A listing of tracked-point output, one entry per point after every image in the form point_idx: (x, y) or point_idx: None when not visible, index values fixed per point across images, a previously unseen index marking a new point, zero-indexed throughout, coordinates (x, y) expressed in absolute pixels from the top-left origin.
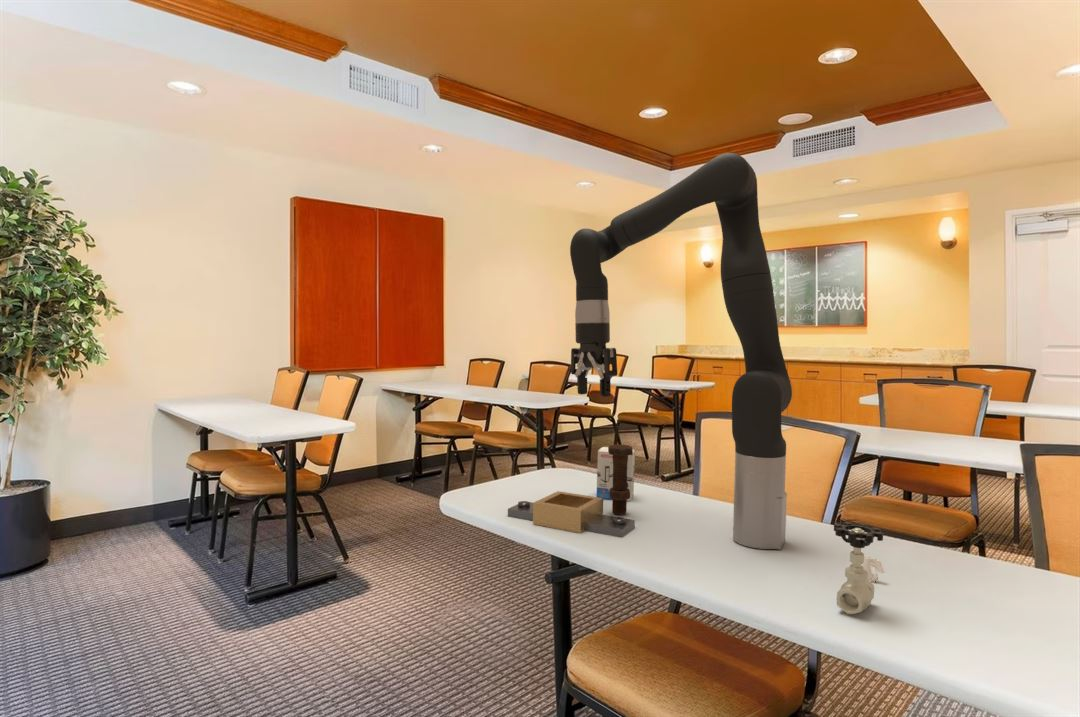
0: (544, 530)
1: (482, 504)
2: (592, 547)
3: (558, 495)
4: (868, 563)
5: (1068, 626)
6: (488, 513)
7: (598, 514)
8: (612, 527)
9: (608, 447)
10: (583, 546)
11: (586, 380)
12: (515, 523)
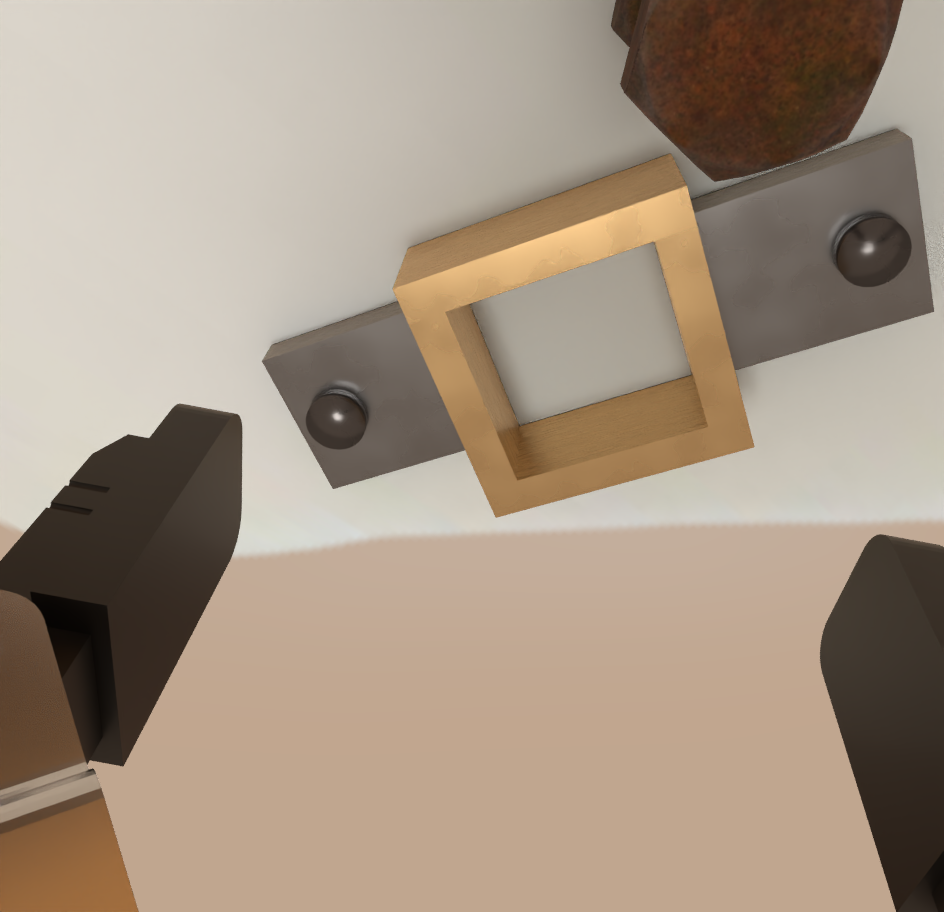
0: None
1: None
2: (881, 469)
3: (455, 334)
4: None
5: None
6: (259, 503)
7: None
8: (880, 326)
9: (636, 104)
10: (845, 486)
11: (140, 577)
12: (444, 502)
